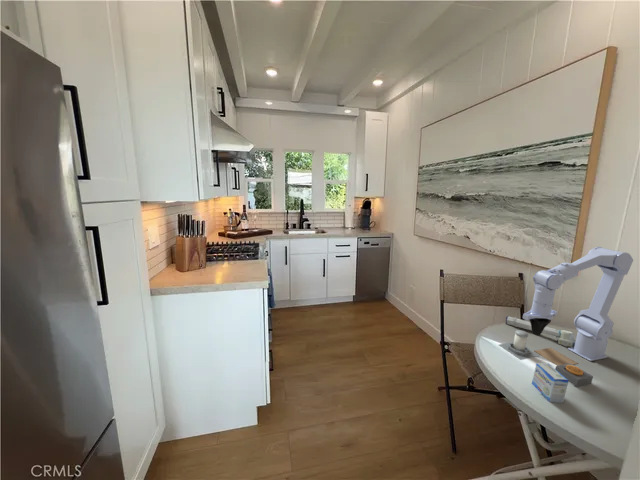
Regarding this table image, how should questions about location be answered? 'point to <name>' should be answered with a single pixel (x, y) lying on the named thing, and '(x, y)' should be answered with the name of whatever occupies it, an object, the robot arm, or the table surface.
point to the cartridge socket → (519, 354)
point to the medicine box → (550, 382)
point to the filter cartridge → (520, 340)
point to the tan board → (555, 356)
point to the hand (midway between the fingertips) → (535, 334)
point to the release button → (574, 370)
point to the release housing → (573, 379)
